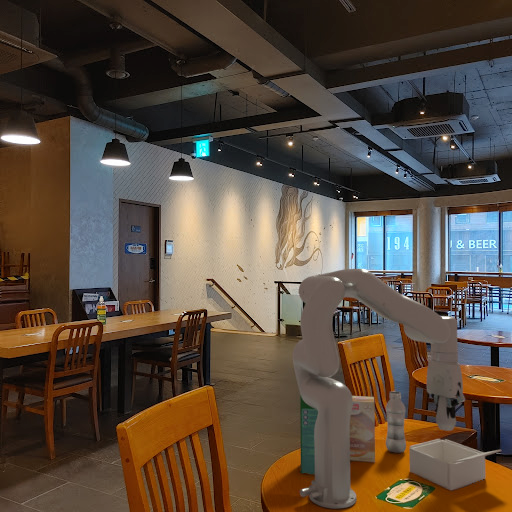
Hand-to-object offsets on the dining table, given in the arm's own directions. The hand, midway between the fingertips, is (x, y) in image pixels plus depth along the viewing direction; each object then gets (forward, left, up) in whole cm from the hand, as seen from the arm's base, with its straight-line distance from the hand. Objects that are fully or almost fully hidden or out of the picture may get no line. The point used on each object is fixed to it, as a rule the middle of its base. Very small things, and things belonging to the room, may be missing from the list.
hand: (445, 417), depth 143 cm
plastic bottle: (+1, +22, -17) cm, 28 cm away
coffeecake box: (-15, +26, -17) cm, 34 cm away
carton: (0, 0, -17) cm, 17 cm away
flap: (0, -10, -8) cm, 13 cm away
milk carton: (-31, +24, -17) cm, 43 cm away
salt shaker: (0, 0, -3) cm, 3 cm away
